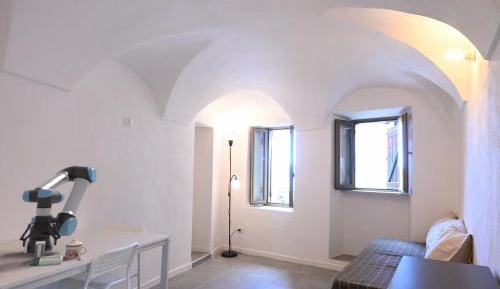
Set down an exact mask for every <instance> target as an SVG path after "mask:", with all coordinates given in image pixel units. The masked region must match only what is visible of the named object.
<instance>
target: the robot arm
mask: <svg viewBox="0 0 500 289" xmlns="http://www.w3.org/2000/svg"><path fill="white" fill-rule="evenodd" d="M97 178H98V174H97V169H96V168H95V167H92V166H79V165H70V166H67V167H65V168H63V169H61V170H59V171H57V172H56V173H55V175H54V176H52V177H51V178H49V179H48V180H46V181H45V182H43V183H41V184H40V185H38V186H37V187H35V188H33V189H27V190H24V191H23V193H22V201H23V202H25V203H30V204H31V203H35V204H36V209H35V216H33V217H31V219H30V222H29V223H28V225H27V227H26V229H25V231H23V233H22V235H21V236H20V237H19V241H22V247H23V248H24V251H23V253H24V254H26V253H33V254H34V253H35V244H36V242H39V241H45V250H44V253H45V252H48V251H49V252H54V249H55V246H57V243H58V240H59V239H61V237H69V236H70V237H71V235H73V234H74V233H75V231H76V229H77V227H78V219H77V217H76V213H77V211H78V209H79V207H80V205H81V202H82V200H83V198H84V195H85V193H86V190H87V188H90V186H91V184H93V183H96V181H97ZM69 182H73V183H74V184H73V186H72V188H71V191H70V192H69V195H68V196H67V199H66V201H65V204H64V205H63V208H62V210H61V211H60V212H58V213H57V215H56V216H55V217H54V216H53V214H52V206H53V204H59V203H62V202H63V201H64V200H65V193H64V192H63V191H61V190H56V189H57V188H59V187H61V186H62V185H64V184H67V183H69ZM28 231H29V234H28V235H27V236H26V234H27V233H28ZM25 236H26V237H25ZM51 237H52V238H53V239H52V241H51Z"/></svg>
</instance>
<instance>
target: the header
mask: <svg viewBox="0 0 500 289" xmlns="http://www.w3.org/2000/svg"><path fill="white" fill-rule="evenodd" d="M63 261H64V255H63V254H61V255H59V256H57V255H49V256H48V255H46V256H45V255H44V257H41V258H40V260H39V265H49V264H63Z"/></svg>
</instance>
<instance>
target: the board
mask: <svg viewBox="0 0 500 289" xmlns="http://www.w3.org/2000/svg"><path fill="white" fill-rule="evenodd" d="M59 255H62V253H61V252H60V253H57V254H56V256H59ZM60 265H61V264H49V265H39V261H34V257H31V259H30V260H29V262H28V263H27V266H26V268H33V267H34V268H35V267H47V266H60Z"/></svg>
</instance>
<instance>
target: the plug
mask: <svg viewBox="0 0 500 289" xmlns="http://www.w3.org/2000/svg"><path fill="white" fill-rule="evenodd" d="M44 250H45V241H39V242H36V244H35V253H33V258H34V261H39V260H40V258H41V257H44V256H45V252H44Z"/></svg>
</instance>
